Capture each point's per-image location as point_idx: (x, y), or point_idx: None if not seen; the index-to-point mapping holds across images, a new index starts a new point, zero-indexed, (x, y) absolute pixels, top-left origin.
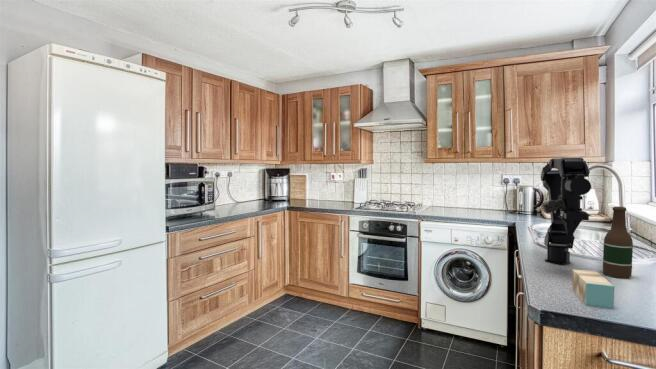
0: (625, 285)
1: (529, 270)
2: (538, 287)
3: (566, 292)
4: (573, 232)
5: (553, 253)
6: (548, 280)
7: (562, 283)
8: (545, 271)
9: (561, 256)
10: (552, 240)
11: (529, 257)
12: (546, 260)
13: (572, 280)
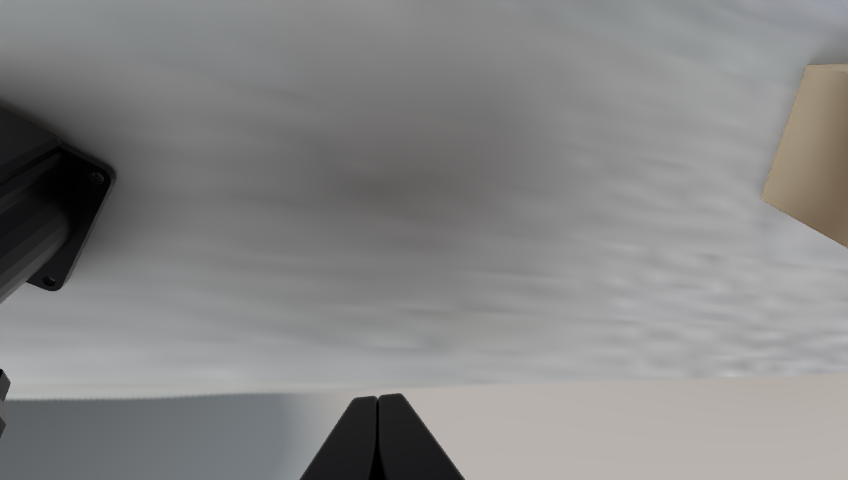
0: None
1: (434, 375)
2: (762, 346)
3: None
4: (448, 459)
5: (22, 280)
6: (628, 298)
7: (674, 235)
8: (415, 299)
9: (22, 201)
10: (4, 426)
11: None
12: (64, 280)
13: (811, 222)
